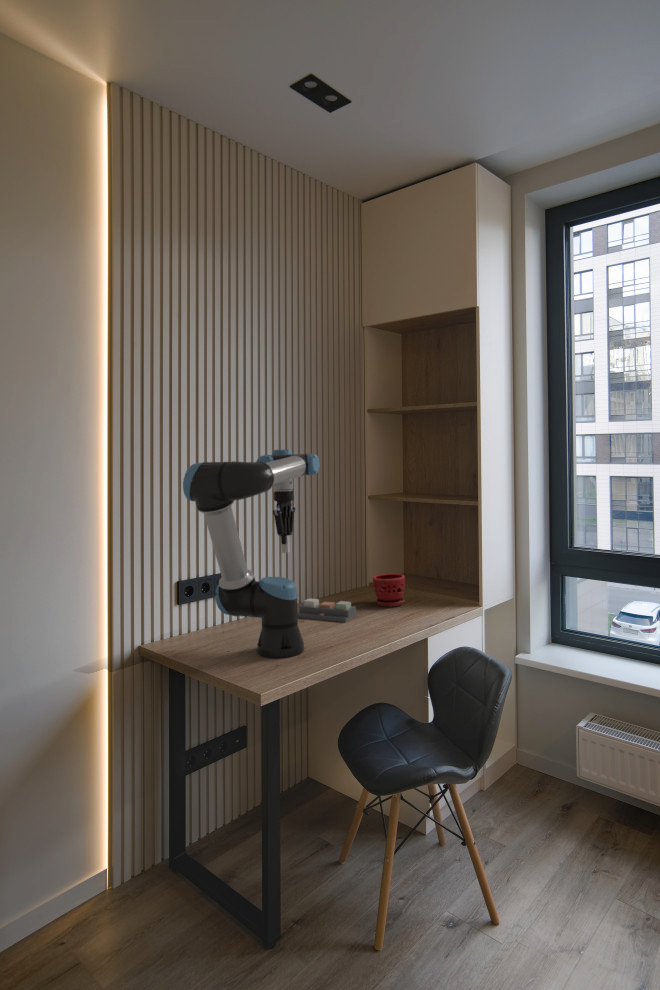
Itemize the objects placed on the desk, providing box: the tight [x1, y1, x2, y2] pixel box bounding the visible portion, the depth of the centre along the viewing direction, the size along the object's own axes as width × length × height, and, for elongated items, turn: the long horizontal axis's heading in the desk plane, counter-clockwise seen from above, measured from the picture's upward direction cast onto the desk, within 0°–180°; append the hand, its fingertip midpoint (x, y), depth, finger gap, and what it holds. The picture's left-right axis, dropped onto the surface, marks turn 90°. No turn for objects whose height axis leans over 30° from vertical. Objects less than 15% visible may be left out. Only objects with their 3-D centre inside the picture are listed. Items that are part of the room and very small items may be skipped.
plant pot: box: [372, 573, 406, 608], centre depth 254 cm, size 13×13×12 cm
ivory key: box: [303, 598, 320, 607], centre depth 242 cm, size 4×4×3 cm
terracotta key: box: [320, 601, 336, 609], centre depth 239 cm, size 4×4×3 cm
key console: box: [297, 602, 357, 623], centre depth 238 cm, size 10×21×4 cm, turn 63°
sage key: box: [335, 600, 352, 610], centre depth 236 cm, size 4×4×3 cm
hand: (285, 552), depth 232 cm, fingers closed
